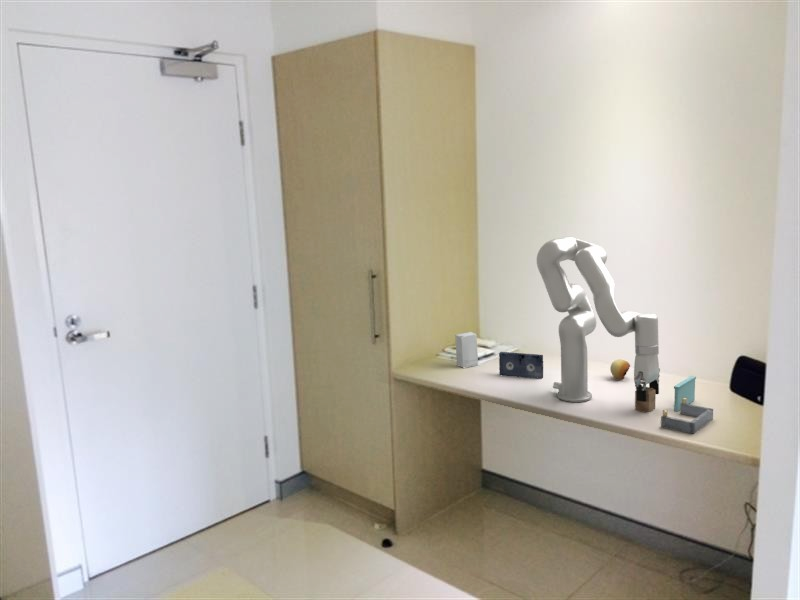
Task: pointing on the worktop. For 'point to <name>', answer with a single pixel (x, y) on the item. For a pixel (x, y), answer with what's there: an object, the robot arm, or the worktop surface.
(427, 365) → the worktop surface
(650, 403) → the block
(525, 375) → the vhs cassette tape
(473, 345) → the skincare box
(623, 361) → the fruit
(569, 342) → the robot arm
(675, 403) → the flat teal rectangular block
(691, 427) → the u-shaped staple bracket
